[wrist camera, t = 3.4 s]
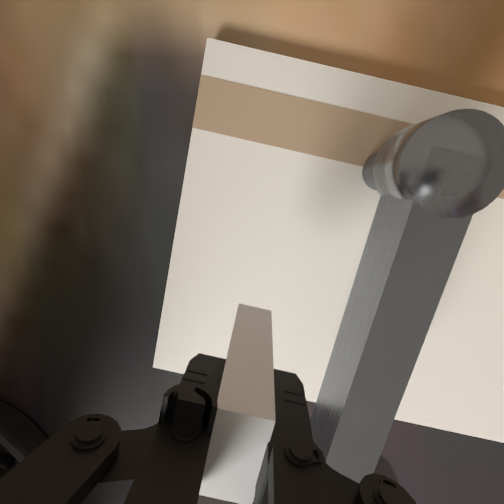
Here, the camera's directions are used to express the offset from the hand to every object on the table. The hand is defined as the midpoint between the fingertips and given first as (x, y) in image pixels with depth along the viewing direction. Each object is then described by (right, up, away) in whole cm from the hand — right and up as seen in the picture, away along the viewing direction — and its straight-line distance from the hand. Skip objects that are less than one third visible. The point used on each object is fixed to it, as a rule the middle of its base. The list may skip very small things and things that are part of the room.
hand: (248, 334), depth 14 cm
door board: (+10, +3, +8) cm, 13 cm away
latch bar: (+7, +1, +3) cm, 7 cm away
